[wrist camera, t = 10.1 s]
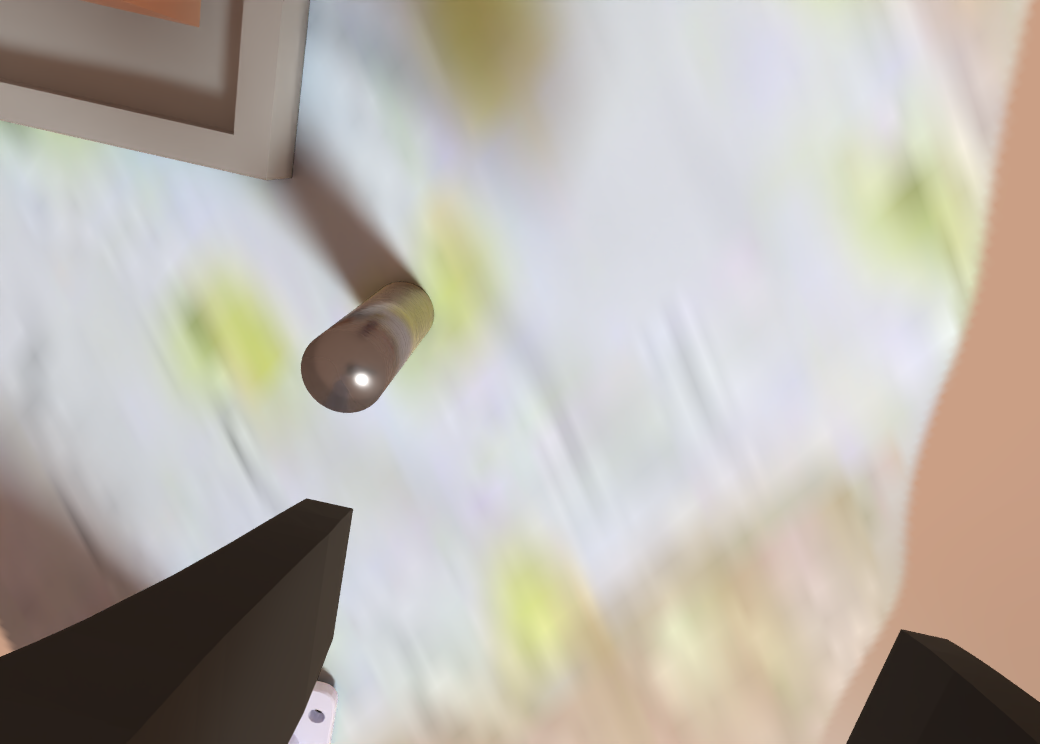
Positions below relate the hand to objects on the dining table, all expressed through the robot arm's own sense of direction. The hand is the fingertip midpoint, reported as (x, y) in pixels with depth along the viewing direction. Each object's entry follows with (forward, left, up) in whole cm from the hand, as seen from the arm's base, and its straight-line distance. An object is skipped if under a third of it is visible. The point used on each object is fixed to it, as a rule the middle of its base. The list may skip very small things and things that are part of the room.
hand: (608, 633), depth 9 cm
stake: (+1, +5, -9) cm, 11 cm away
